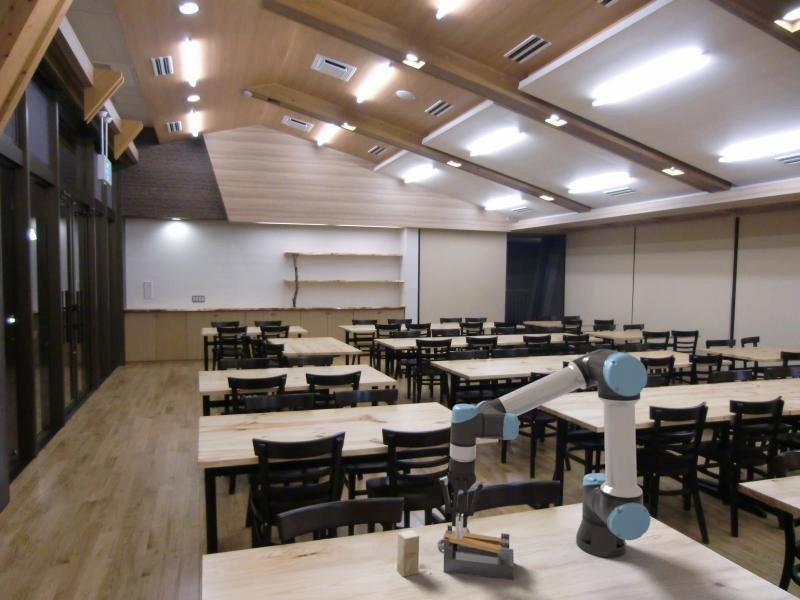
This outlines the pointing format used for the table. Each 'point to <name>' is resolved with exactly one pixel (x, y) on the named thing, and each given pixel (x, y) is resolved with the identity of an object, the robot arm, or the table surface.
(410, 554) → the box
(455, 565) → the gray cradle frame
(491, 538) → the orange long bar
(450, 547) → the lug bar
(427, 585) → the table surface
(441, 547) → the ceramic mug
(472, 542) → the strap near
